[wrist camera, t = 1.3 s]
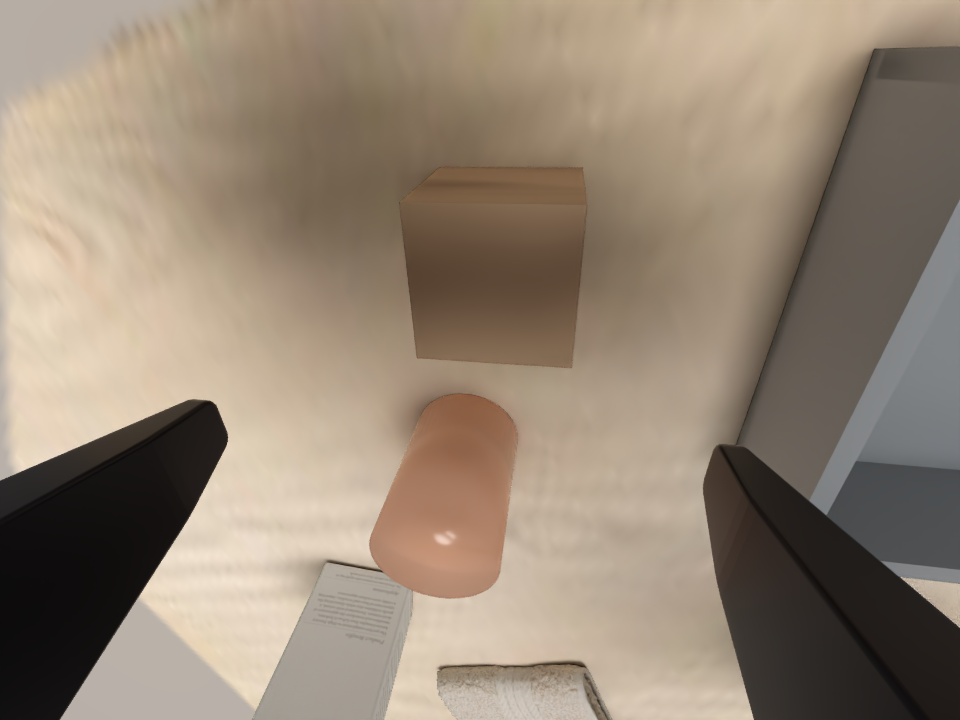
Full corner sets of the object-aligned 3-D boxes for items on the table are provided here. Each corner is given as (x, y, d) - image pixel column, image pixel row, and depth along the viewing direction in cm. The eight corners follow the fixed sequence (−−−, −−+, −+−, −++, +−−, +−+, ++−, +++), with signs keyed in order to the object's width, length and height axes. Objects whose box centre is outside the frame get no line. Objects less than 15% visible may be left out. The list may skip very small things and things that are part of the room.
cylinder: (516, 475, 25) (500, 606, 19) (422, 466, 25) (379, 589, 19) (518, 398, 22) (500, 521, 16) (413, 390, 23) (359, 505, 17)
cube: (571, 299, 19) (571, 368, 15) (448, 294, 20) (416, 358, 16) (582, 167, 16) (587, 205, 12) (440, 166, 17) (399, 202, 13)
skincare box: (332, 594, 34) (231, 825, 24) (325, 556, 31) (208, 794, 21) (417, 611, 33) (350, 855, 23) (417, 573, 31) (341, 827, 20)
